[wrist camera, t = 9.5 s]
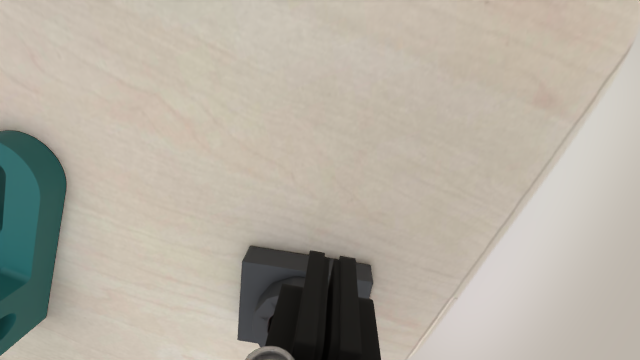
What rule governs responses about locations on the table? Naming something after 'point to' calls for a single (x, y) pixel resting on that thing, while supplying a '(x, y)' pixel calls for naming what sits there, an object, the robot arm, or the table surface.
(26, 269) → the bracket
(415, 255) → the table surface
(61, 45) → the table surface
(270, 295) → the control block
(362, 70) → the table surface
